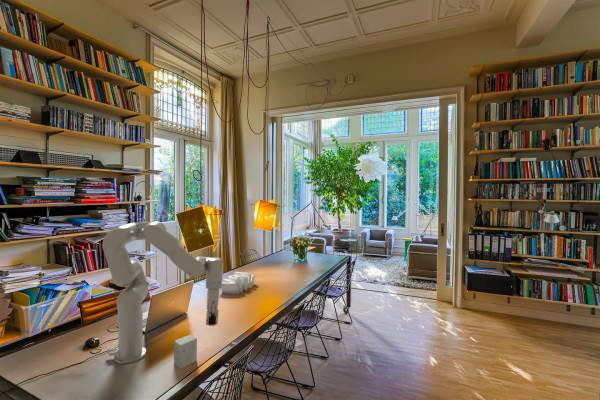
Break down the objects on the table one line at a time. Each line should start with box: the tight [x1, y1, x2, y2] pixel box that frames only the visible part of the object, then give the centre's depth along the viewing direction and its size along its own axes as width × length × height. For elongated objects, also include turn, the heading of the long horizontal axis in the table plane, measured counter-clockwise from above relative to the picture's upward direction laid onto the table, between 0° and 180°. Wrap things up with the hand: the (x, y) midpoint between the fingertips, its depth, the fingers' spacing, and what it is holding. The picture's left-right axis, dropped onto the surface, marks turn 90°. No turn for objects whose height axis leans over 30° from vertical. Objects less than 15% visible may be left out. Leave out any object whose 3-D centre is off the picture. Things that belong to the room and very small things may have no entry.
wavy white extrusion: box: [219, 271, 256, 295], centre depth 225 cm, size 35×16×11 cm, turn 155°
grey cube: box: [205, 308, 220, 327], centre depth 138 cm, size 6×6×6 cm
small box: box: [173, 334, 198, 370], centre depth 127 cm, size 8×6×10 cm
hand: (212, 320), depth 138 cm, fingers closed on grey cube, 5 cm apart
